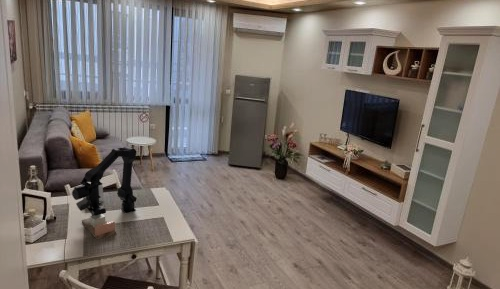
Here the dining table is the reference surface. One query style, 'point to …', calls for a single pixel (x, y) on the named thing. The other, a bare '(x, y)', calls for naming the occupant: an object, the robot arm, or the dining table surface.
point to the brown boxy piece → (100, 229)
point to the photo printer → (100, 193)
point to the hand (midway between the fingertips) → (94, 219)
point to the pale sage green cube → (97, 220)
